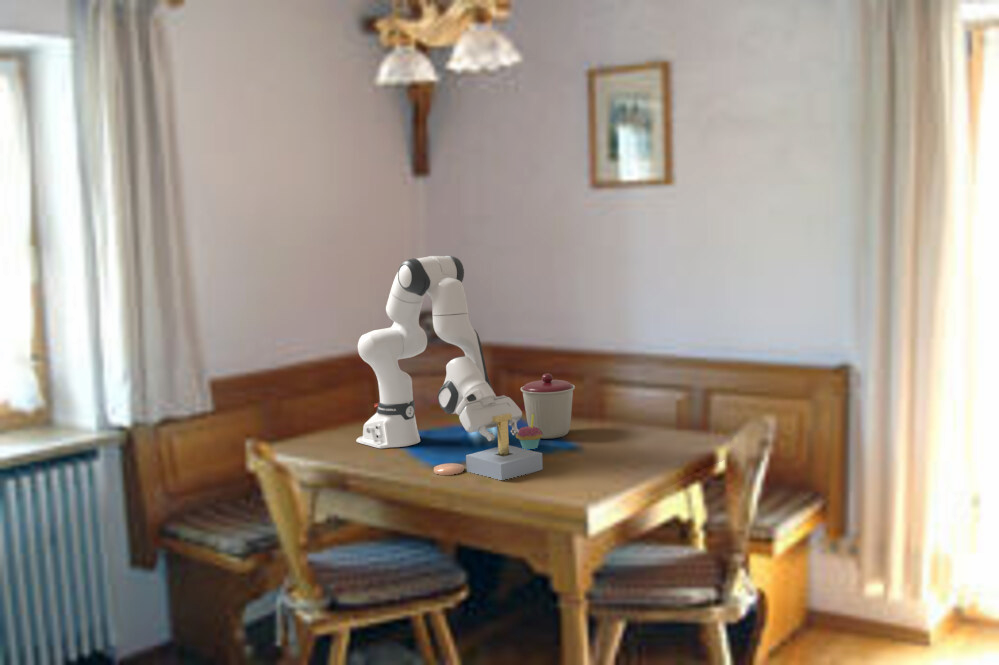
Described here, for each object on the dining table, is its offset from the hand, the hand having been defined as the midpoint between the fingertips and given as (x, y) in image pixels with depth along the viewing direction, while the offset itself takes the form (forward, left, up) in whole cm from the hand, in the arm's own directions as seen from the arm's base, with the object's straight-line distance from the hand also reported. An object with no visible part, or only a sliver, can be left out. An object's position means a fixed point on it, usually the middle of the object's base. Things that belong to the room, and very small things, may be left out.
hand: (504, 436), depth 306 cm
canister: (-14, +42, -11) cm, 46 cm away
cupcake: (-10, +25, -11) cm, 29 cm away
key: (-1, 0, -10) cm, 10 cm away
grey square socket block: (-1, 0, -10) cm, 10 cm away
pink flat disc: (-15, -8, -10) cm, 20 cm away
